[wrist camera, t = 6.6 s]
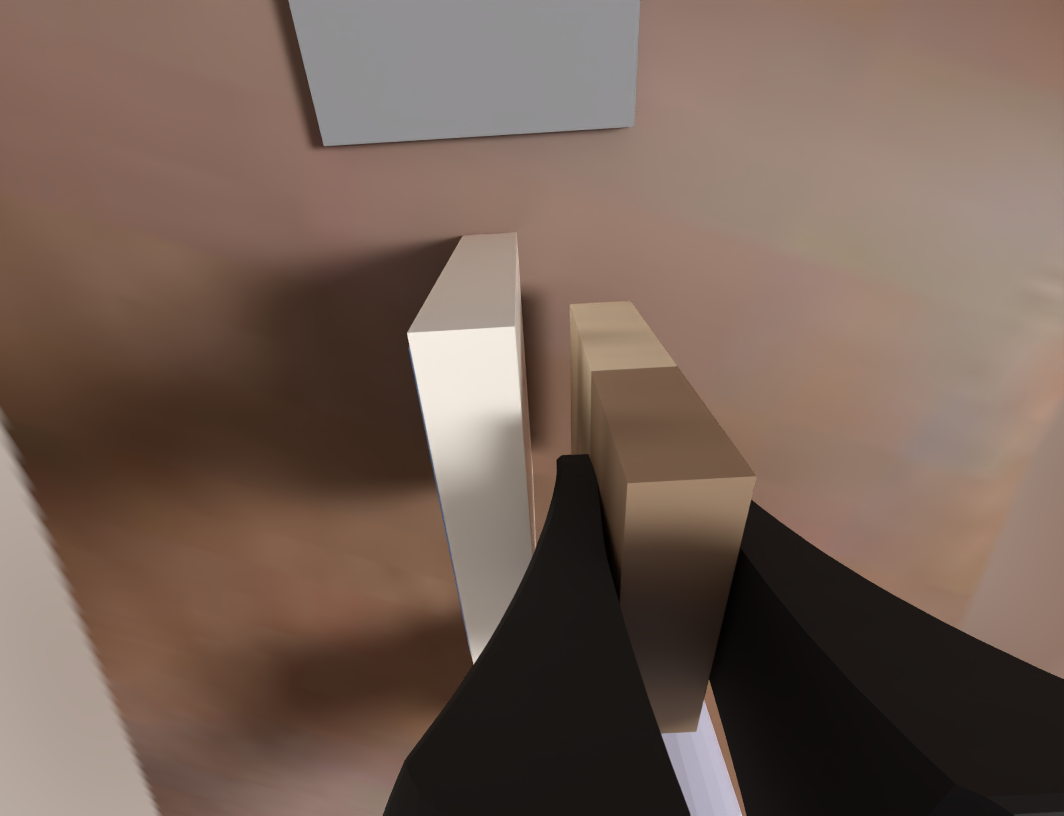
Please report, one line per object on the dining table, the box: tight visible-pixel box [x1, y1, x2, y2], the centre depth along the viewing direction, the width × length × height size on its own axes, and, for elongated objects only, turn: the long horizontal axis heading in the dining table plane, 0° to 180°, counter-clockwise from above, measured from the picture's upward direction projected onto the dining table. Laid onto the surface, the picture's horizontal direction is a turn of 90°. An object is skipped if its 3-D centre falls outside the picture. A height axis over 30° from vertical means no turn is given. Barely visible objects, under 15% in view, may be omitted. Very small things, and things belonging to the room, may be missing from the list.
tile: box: [407, 232, 536, 665], centre depth 13 cm, size 9×2×8 cm, turn 3°
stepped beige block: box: [570, 301, 757, 734], centre depth 10 cm, size 6×2×8 cm, turn 3°
